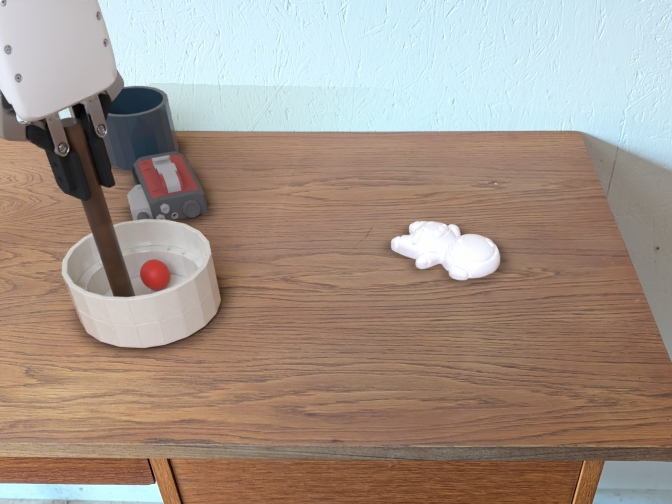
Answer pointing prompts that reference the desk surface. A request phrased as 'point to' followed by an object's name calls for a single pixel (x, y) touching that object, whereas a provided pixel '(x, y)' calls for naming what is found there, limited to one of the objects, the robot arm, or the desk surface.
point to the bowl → (147, 305)
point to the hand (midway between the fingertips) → (88, 187)
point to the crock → (139, 126)
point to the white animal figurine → (448, 249)
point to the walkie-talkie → (165, 188)
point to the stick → (99, 214)
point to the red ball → (155, 274)
